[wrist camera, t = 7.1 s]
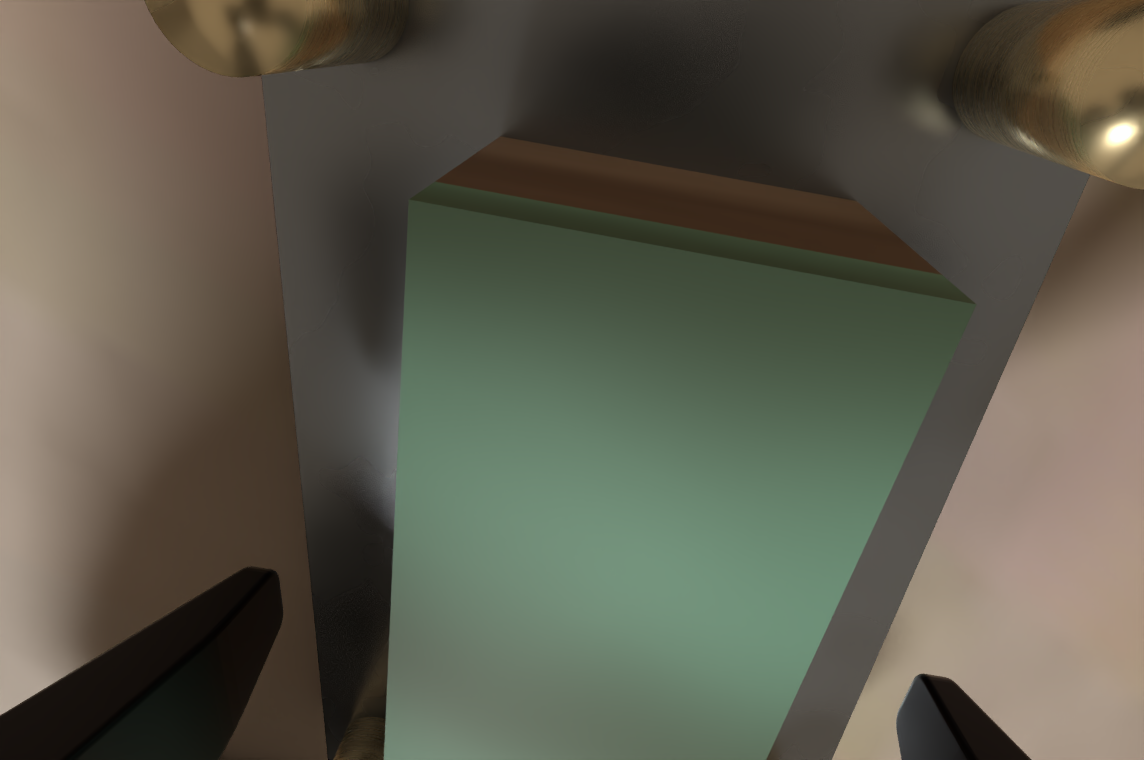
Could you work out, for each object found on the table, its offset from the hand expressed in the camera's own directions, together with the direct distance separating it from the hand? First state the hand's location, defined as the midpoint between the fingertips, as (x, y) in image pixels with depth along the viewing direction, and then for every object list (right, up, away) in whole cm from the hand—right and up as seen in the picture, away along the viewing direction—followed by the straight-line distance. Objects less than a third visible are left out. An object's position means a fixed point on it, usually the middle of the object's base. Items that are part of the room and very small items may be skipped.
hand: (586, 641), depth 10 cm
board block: (0, +1, +3) cm, 3 cm away
